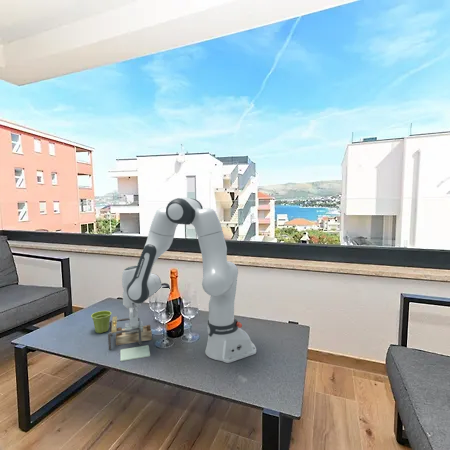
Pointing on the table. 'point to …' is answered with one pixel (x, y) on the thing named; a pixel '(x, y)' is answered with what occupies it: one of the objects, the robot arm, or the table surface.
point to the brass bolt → (114, 324)
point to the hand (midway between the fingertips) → (134, 328)
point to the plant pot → (101, 321)
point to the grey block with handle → (127, 326)
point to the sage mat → (134, 353)
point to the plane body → (129, 338)
